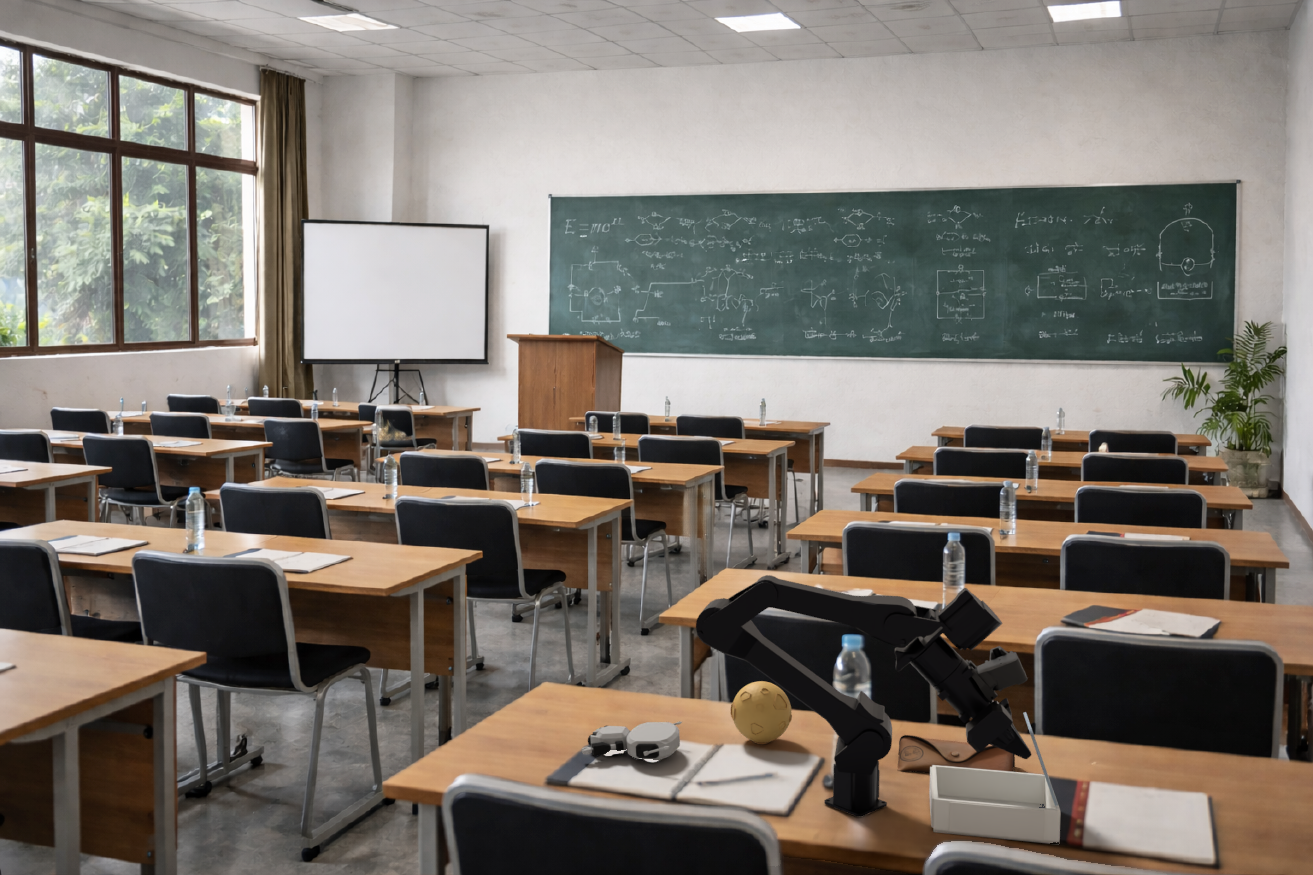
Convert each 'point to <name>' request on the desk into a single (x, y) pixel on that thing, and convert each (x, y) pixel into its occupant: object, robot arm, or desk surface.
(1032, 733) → the flap
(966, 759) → the sunglasses case
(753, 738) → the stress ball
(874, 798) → the robot arm
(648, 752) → the robot toy
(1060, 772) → the desk surface
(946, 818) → the carton
